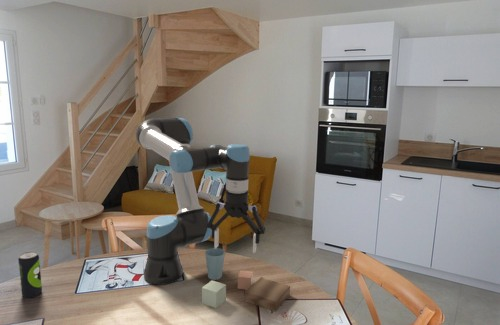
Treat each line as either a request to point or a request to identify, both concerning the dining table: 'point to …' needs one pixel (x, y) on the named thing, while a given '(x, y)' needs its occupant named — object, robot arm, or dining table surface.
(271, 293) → the walnut block
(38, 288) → the beverage can
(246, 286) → the terracotta cube
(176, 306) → the dining table surface
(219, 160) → the robot arm
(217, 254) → the cup
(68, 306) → the dining table surface
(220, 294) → the pale green cube
